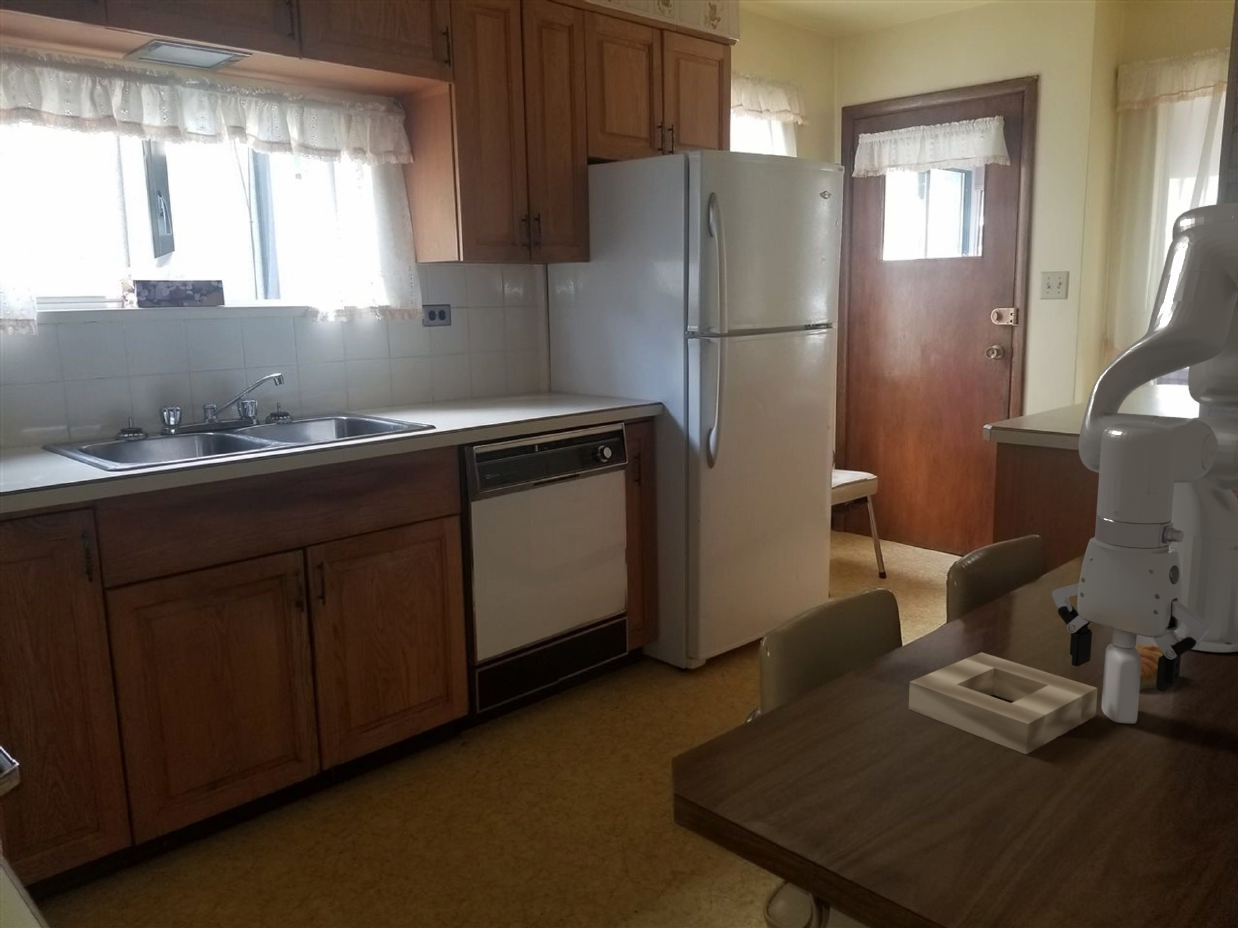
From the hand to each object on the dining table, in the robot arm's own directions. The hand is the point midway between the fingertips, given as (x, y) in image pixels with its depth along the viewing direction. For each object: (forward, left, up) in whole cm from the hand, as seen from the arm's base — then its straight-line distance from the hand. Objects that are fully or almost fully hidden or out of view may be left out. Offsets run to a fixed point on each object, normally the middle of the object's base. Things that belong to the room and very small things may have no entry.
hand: (1121, 675), depth 112 cm
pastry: (-13, -3, -5) cm, 15 cm away
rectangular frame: (+10, -9, -5) cm, 14 cm away
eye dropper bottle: (0, 0, -5) cm, 5 cm away
